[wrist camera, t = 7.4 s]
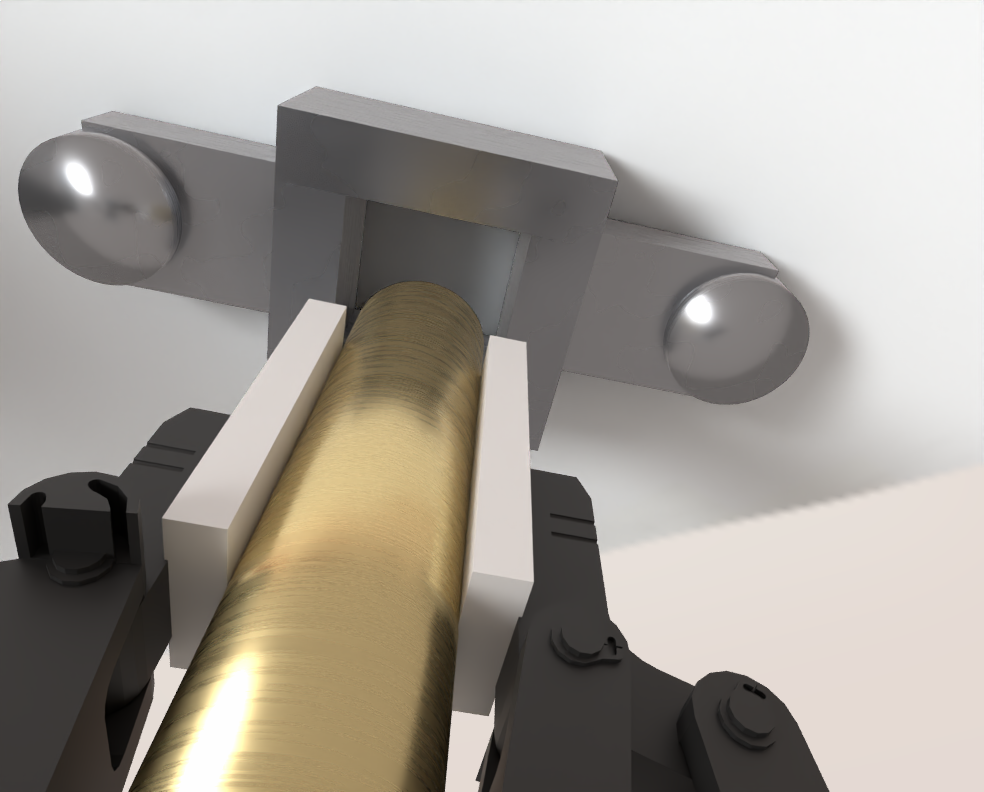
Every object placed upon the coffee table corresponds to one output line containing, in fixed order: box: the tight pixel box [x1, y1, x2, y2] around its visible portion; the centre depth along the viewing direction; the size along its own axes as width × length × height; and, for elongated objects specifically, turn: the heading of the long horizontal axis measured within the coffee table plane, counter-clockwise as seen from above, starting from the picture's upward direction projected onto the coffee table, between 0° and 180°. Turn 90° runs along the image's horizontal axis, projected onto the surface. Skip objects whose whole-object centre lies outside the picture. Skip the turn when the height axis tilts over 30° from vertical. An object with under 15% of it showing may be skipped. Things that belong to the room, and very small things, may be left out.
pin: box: [129, 281, 484, 792], centre depth 10 cm, size 4×4×13 cm
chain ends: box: [18, 87, 809, 451], centre depth 19 cm, size 22×8×4 cm, turn 78°
